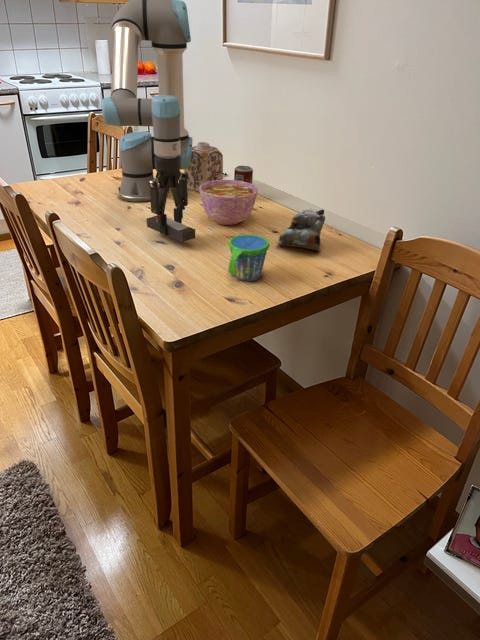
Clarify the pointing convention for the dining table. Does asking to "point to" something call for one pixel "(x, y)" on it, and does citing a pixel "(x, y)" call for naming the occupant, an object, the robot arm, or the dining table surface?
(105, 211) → the dining table surface
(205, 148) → the decorative jar
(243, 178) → the soda can
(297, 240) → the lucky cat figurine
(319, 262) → the dining table surface
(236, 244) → the snack cup
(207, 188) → the bowl of food
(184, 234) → the tv remote
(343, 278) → the dining table surface
